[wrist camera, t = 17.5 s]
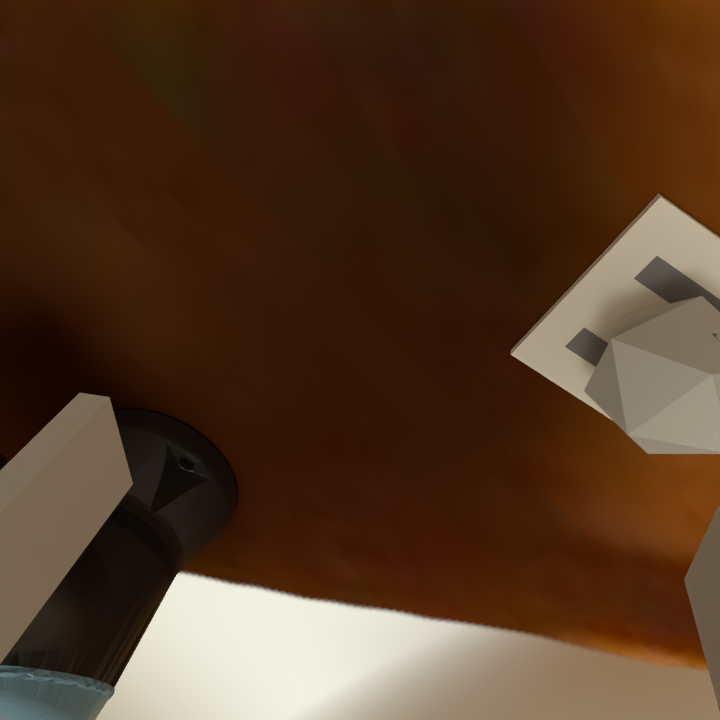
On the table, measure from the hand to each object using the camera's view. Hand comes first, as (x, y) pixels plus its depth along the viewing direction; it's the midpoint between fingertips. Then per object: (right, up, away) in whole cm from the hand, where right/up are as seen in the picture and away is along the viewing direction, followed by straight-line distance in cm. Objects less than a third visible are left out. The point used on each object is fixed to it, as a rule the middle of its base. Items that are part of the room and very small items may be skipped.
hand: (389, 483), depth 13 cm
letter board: (+18, +4, +25) cm, 31 cm away
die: (+18, +4, +25) cm, 31 cm away
